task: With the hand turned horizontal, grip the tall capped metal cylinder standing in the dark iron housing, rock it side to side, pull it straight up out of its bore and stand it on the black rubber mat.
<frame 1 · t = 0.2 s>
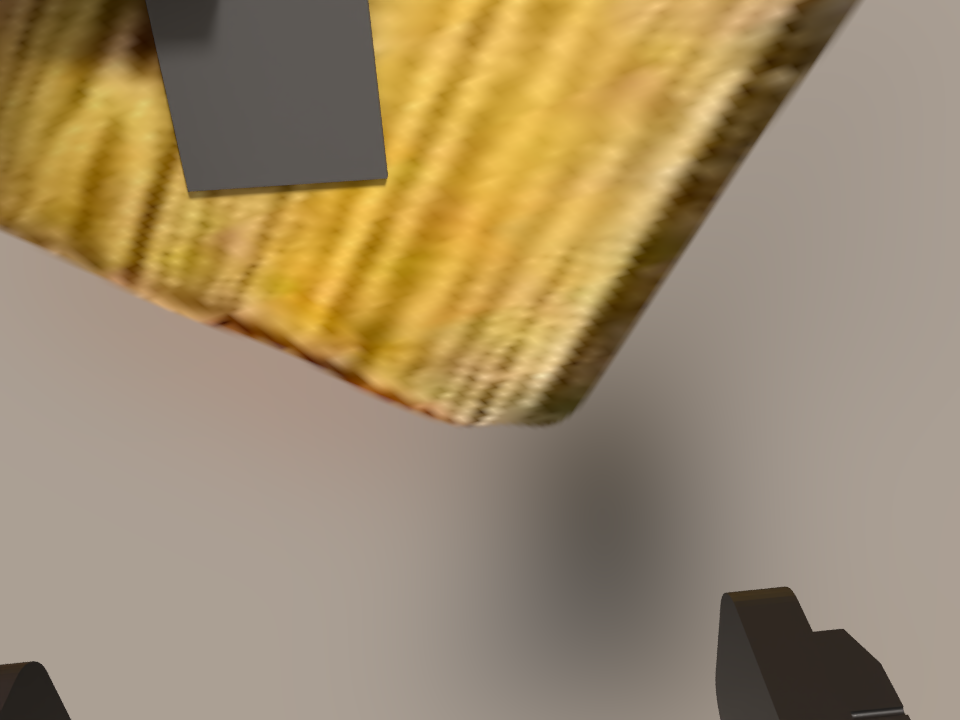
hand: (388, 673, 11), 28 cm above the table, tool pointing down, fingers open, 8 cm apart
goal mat: (272, 81, 35), on the table
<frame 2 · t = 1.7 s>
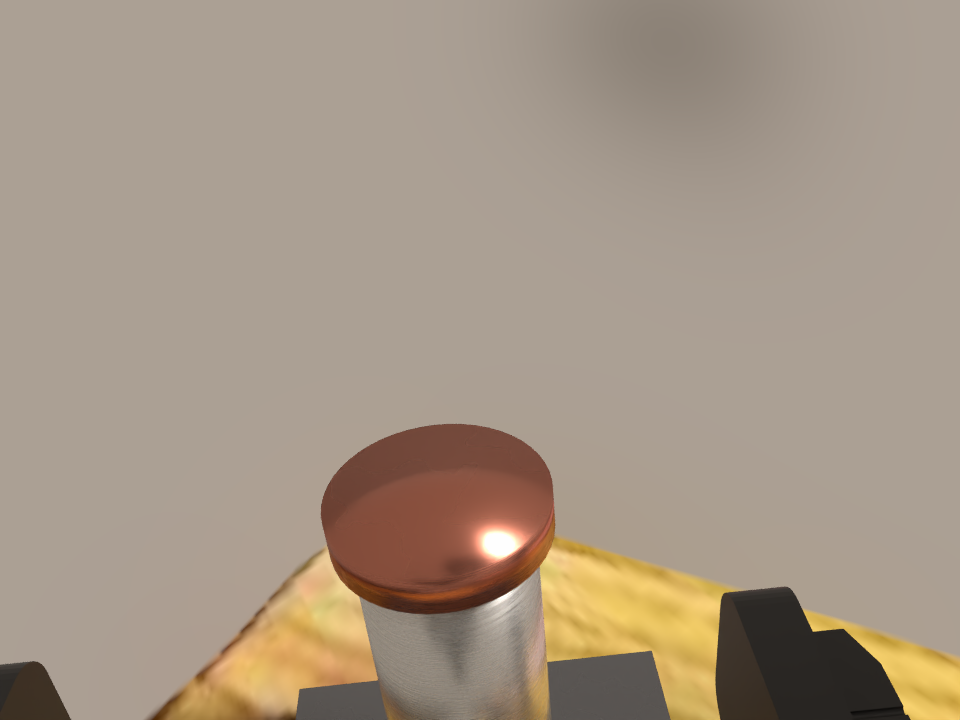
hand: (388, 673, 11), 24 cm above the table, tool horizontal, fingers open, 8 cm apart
capped metal cylinder: (469, 707, 28), in the bore housing
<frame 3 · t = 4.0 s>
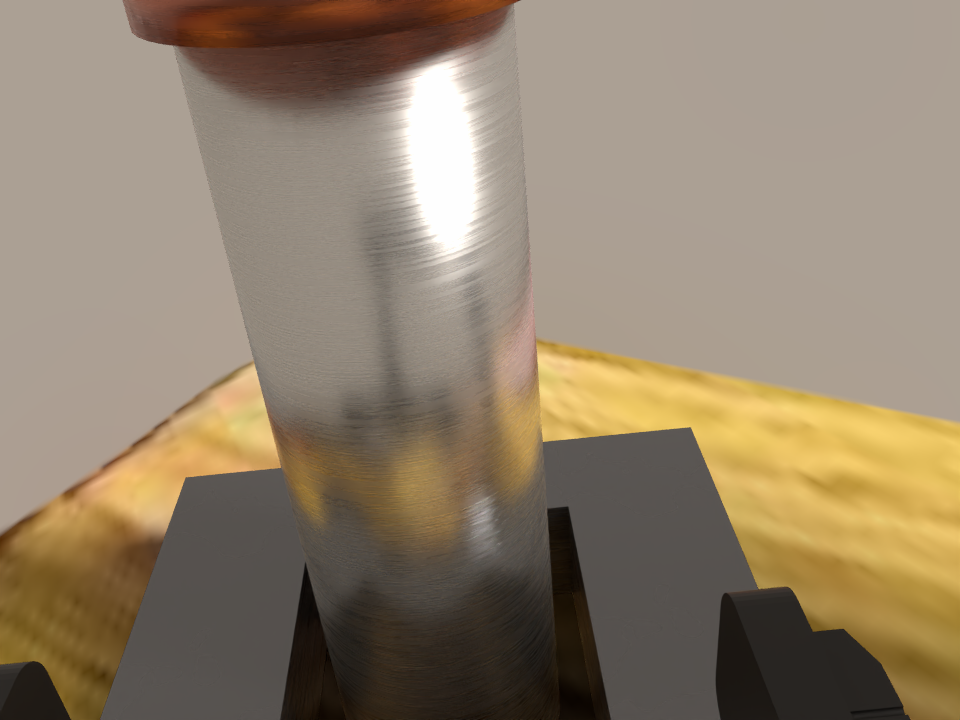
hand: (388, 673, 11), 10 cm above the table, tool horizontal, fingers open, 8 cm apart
bore housing: (454, 706, 22), on the table
capped metal cylinder: (407, 410, 17), in the bore housing
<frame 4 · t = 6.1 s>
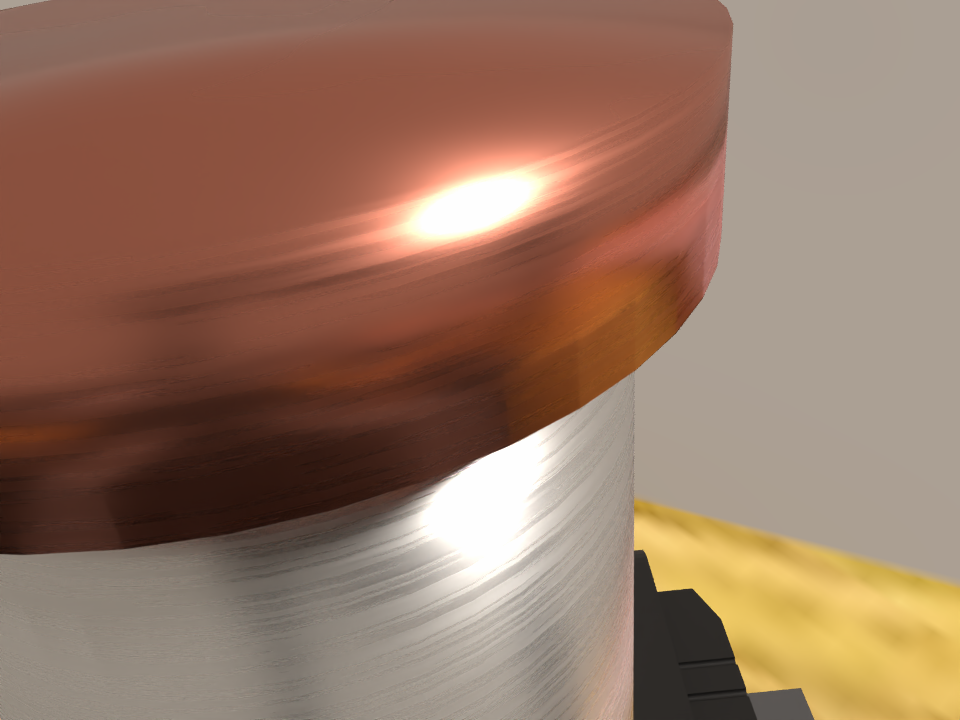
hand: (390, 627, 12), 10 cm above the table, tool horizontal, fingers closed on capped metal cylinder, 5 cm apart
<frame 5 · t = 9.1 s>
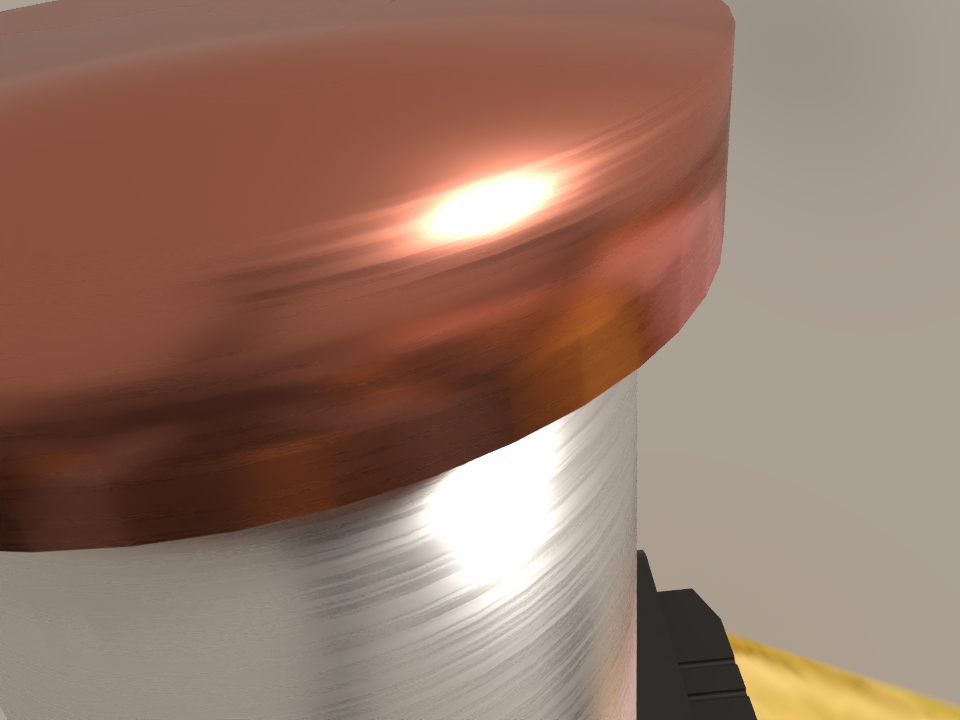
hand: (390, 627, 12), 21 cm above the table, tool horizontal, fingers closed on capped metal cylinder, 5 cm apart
when the fingers open (11 cm above the table, at t = 11.9 s): capped metal cylinder stays where it is, resting on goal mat.
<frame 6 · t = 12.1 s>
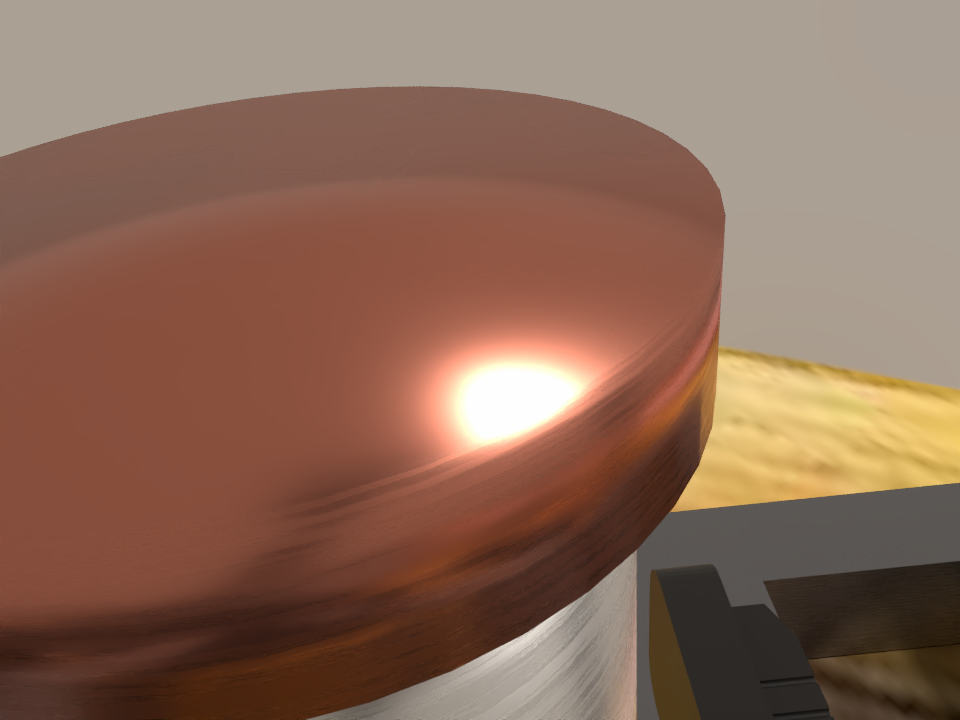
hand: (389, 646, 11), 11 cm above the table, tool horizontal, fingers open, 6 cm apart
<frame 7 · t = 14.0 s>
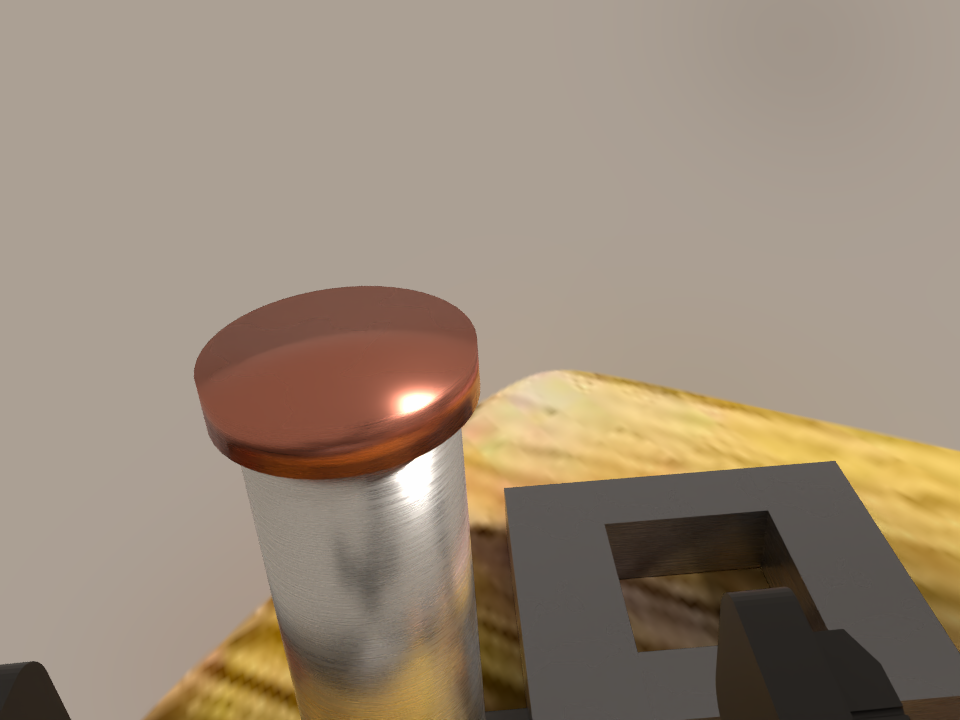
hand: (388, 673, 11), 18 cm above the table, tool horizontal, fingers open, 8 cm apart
bore housing: (703, 633, 35), on the table
capped metal cylinder: (382, 632, 24), on the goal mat
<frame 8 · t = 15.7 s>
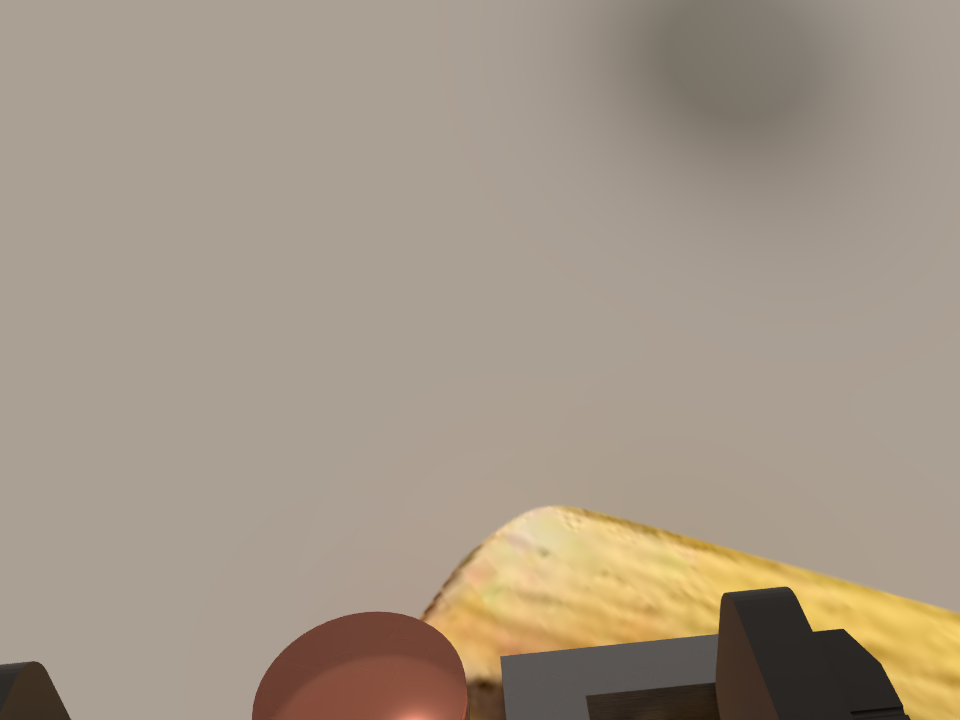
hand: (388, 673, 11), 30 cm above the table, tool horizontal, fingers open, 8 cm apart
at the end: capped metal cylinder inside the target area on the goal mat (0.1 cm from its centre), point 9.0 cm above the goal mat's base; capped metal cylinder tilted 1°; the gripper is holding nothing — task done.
